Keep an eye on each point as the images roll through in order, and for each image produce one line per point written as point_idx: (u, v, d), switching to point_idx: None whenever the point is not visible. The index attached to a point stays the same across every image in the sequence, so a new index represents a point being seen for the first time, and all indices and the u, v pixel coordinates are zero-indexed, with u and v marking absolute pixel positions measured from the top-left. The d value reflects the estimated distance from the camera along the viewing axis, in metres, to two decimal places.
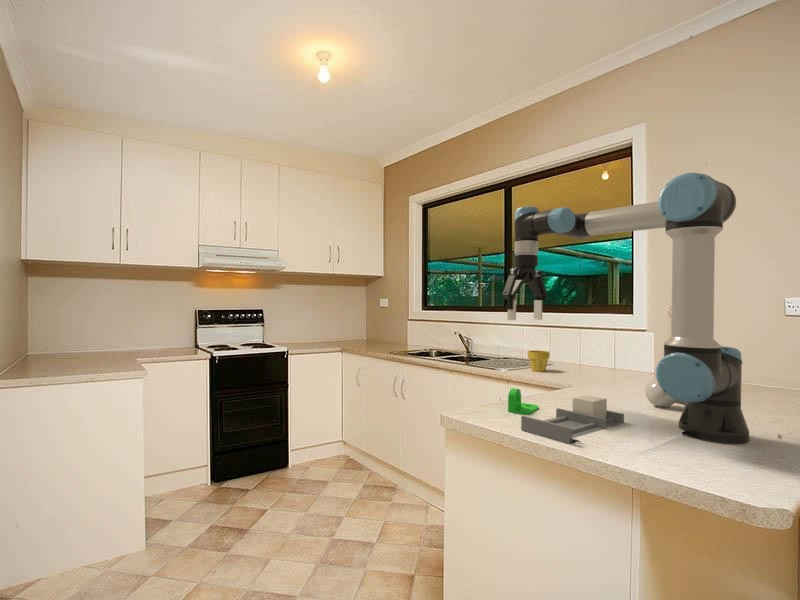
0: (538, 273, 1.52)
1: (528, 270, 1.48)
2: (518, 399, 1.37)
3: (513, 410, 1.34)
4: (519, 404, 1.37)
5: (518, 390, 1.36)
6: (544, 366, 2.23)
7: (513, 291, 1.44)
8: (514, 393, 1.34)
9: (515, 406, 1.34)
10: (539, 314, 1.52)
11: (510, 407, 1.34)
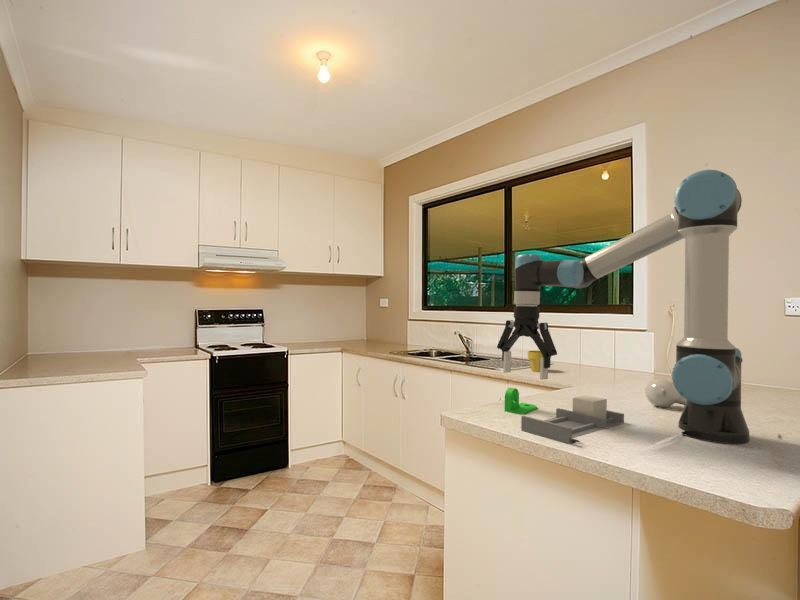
0: None
1: (523, 322, 1.37)
2: (515, 398, 1.38)
3: (509, 409, 1.35)
4: (516, 403, 1.38)
5: (515, 390, 1.37)
6: None
7: None
8: (510, 392, 1.35)
9: (511, 405, 1.35)
10: None
11: (506, 407, 1.35)
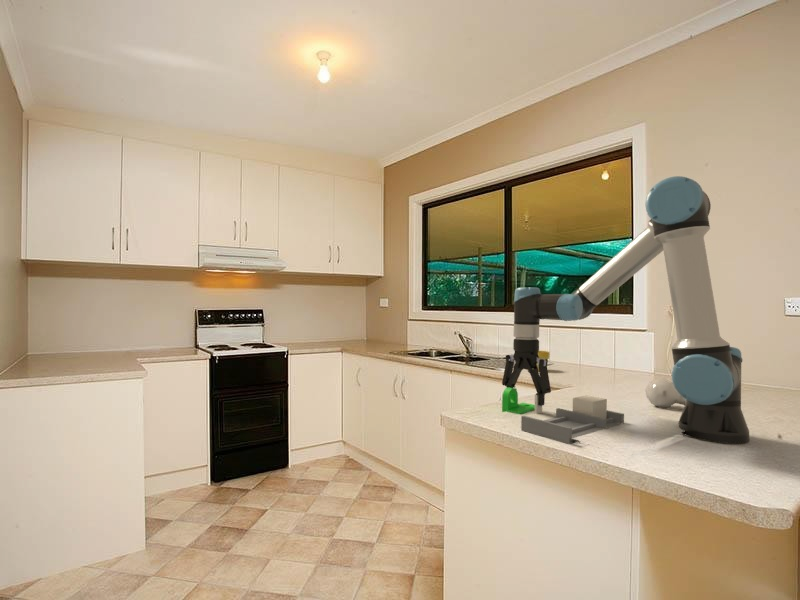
0: None
1: (523, 355, 1.37)
2: (514, 398, 1.38)
3: (507, 409, 1.35)
4: (515, 403, 1.38)
5: (513, 389, 1.37)
6: None
7: None
8: (508, 392, 1.36)
9: (509, 405, 1.36)
10: None
11: (504, 406, 1.36)
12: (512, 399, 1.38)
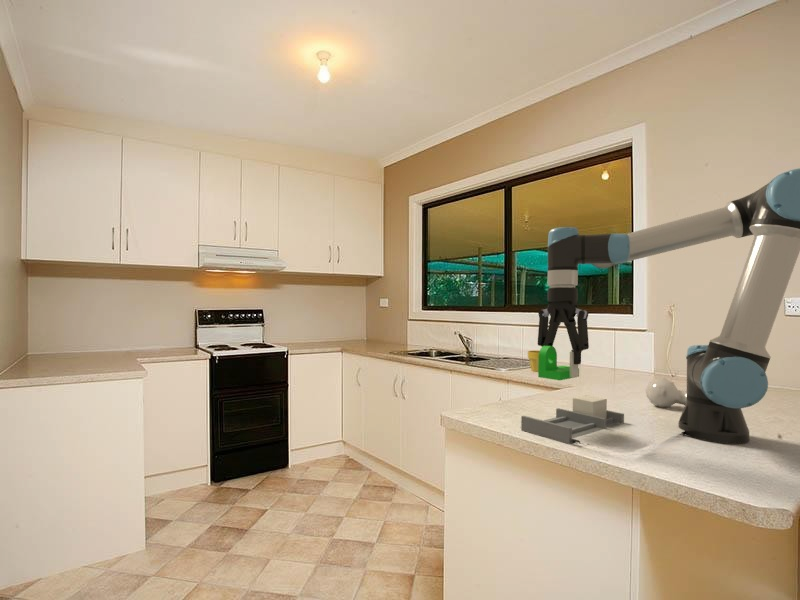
0: None
1: (559, 306, 1.19)
2: (552, 358, 1.19)
3: (544, 369, 1.16)
4: (553, 364, 1.19)
5: (552, 348, 1.18)
6: None
7: None
8: (545, 350, 1.17)
9: (547, 365, 1.16)
10: None
11: (541, 367, 1.17)
12: (550, 359, 1.19)
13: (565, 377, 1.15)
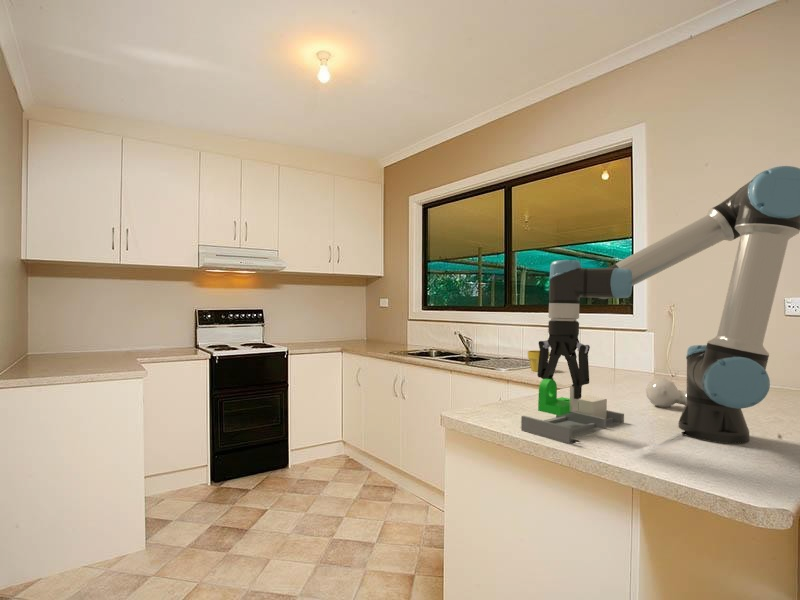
0: None
1: (560, 339, 1.18)
2: (552, 392, 1.18)
3: (544, 403, 1.15)
4: (553, 397, 1.18)
5: (552, 381, 1.17)
6: None
7: None
8: (546, 384, 1.16)
9: (547, 399, 1.16)
10: None
11: (541, 400, 1.16)
12: (550, 392, 1.18)
13: (565, 412, 1.14)
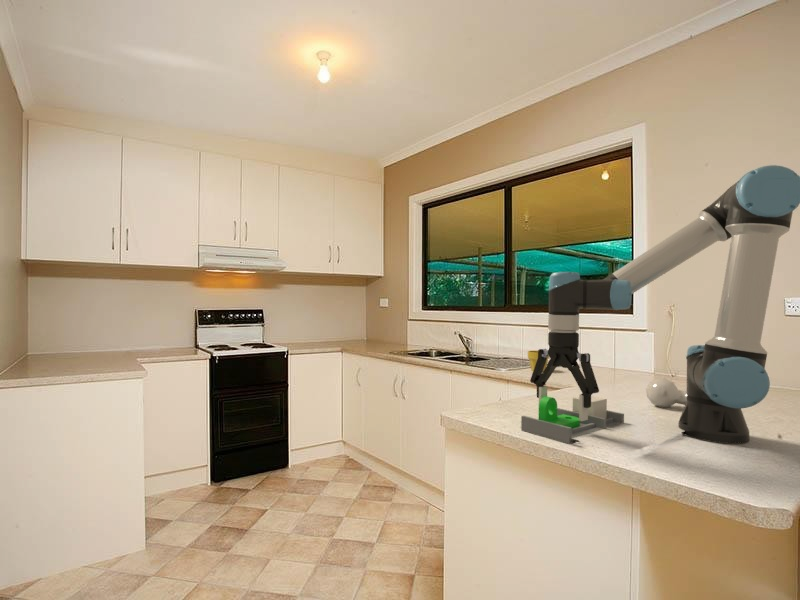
0: None
1: (560, 351, 1.18)
2: (553, 409, 1.18)
3: None
4: (554, 415, 1.18)
5: (552, 399, 1.17)
6: (544, 366, 2.23)
7: None
8: (545, 402, 1.16)
9: (547, 417, 1.16)
10: None
11: (541, 418, 1.16)
12: (550, 410, 1.18)
13: None
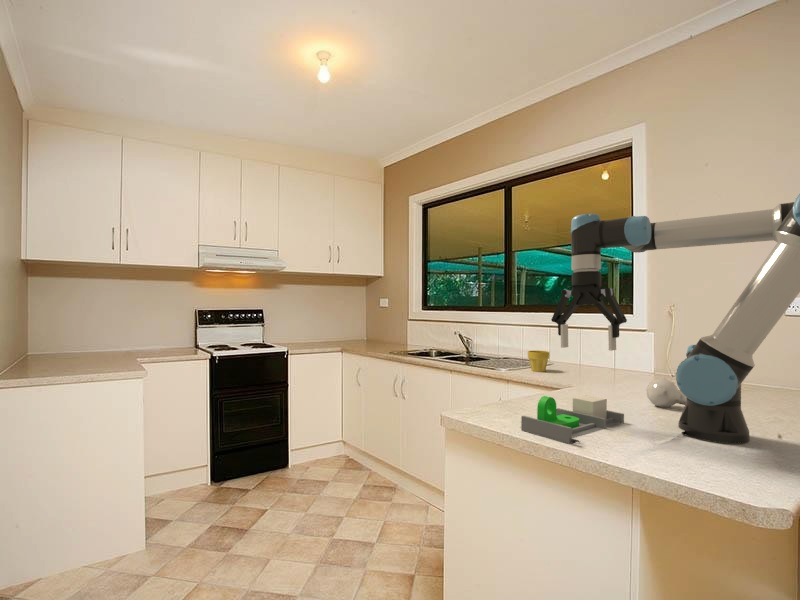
0: None
1: (584, 289, 1.25)
2: (552, 409, 1.18)
3: None
4: (553, 415, 1.18)
5: (551, 399, 1.18)
6: (544, 366, 2.23)
7: None
8: (544, 402, 1.16)
9: (545, 417, 1.16)
10: None
11: (539, 418, 1.17)
12: (549, 410, 1.19)
13: None
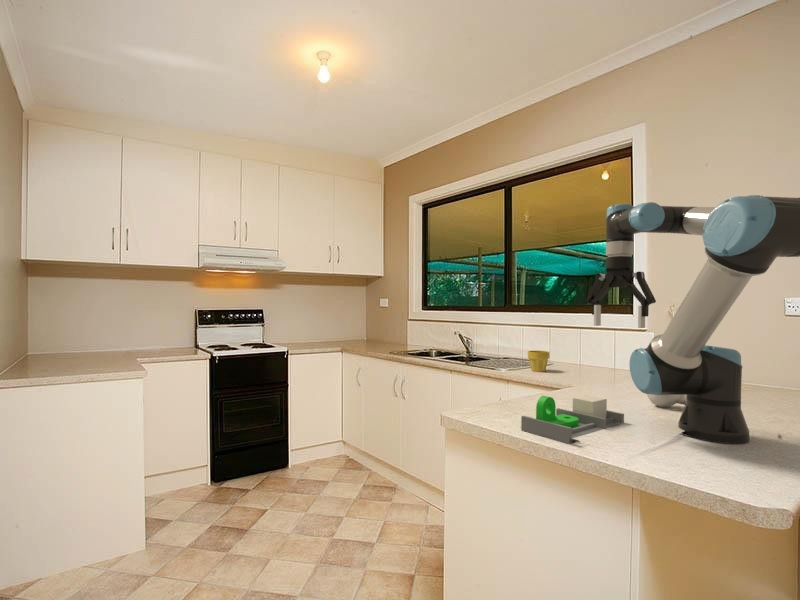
0: None
1: (617, 273, 1.37)
2: (551, 409, 1.19)
3: None
4: (552, 415, 1.18)
5: (550, 398, 1.18)
6: (544, 366, 2.23)
7: None
8: (543, 401, 1.17)
9: (544, 416, 1.16)
10: None
11: (538, 418, 1.17)
12: (549, 410, 1.19)
13: None
